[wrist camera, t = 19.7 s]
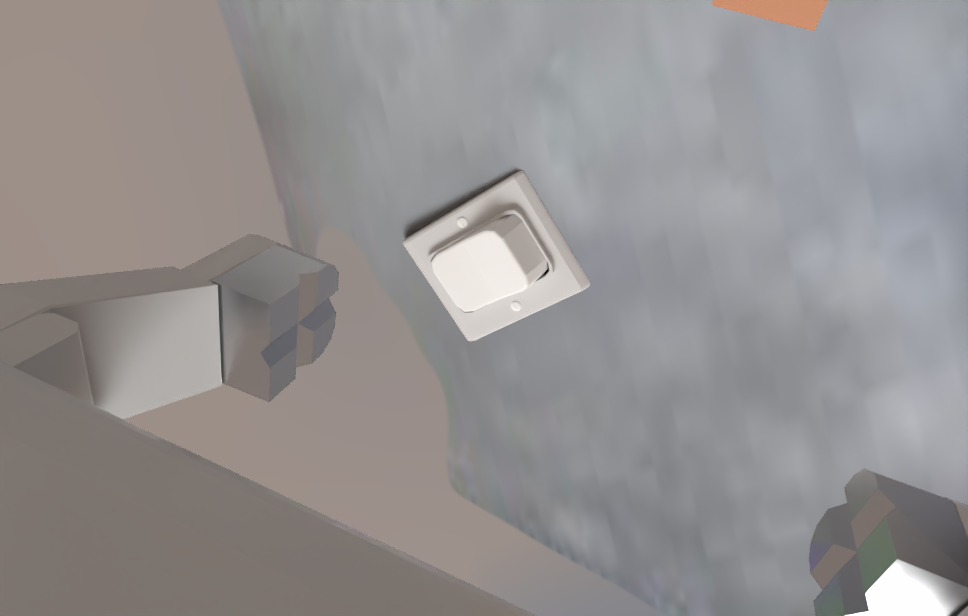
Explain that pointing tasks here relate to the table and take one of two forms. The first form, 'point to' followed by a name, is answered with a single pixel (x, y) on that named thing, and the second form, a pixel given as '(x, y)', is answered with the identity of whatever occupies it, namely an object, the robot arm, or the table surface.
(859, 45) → the table surface
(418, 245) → the light switch
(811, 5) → the salmon square-ended bar
